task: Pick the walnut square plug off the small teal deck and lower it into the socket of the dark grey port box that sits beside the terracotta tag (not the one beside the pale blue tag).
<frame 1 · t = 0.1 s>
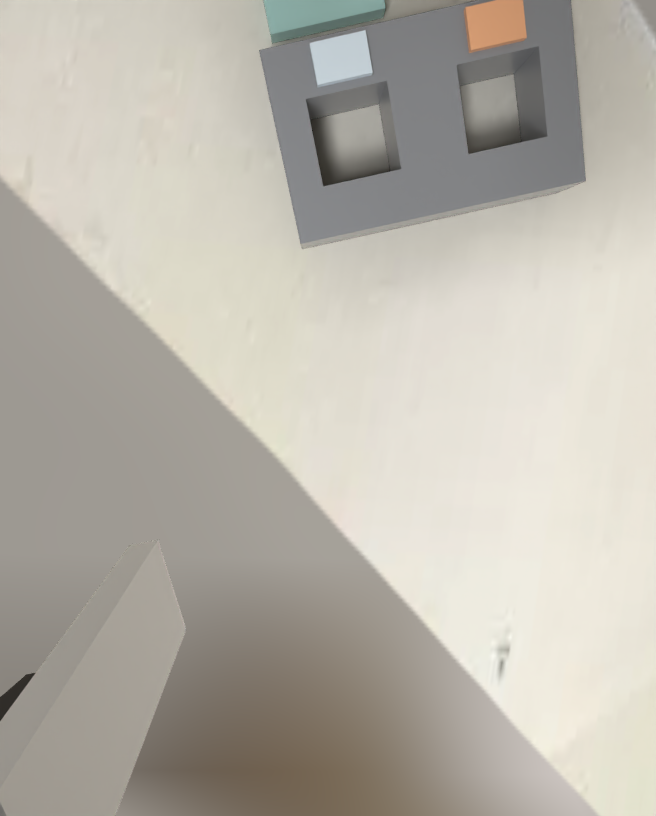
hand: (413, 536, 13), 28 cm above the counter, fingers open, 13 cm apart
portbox: (415, 137, 36), on the counter
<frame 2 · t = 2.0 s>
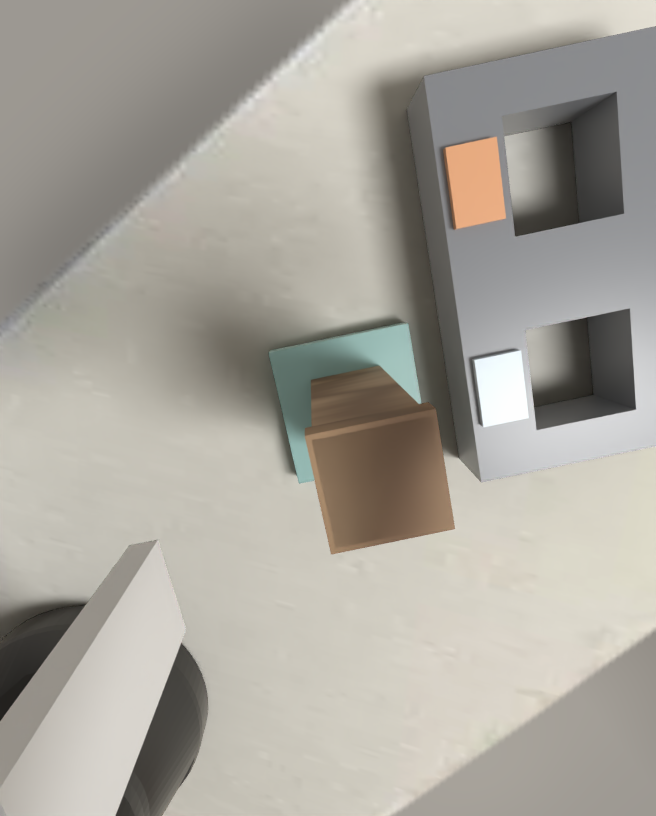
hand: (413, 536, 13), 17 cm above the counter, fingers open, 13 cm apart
deck: (350, 401, 29), on the counter
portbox: (536, 276, 28), on the counter
plug: (351, 406, 28), point 1 cm above the counter, touching deck
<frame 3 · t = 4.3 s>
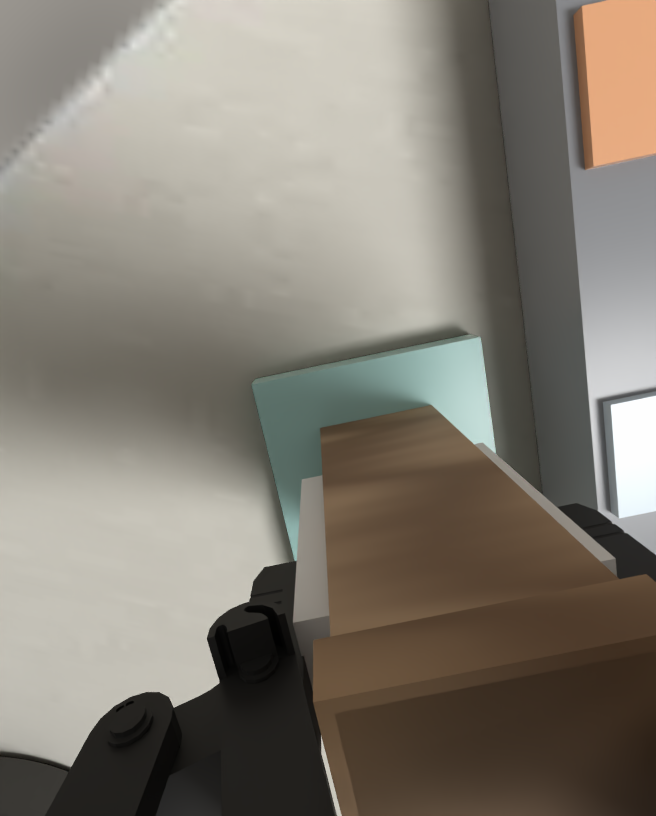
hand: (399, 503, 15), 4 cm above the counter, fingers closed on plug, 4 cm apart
deck: (381, 458, 19), on the counter
plug: (385, 469, 18), point 1 cm above the counter, touching deck, gripper
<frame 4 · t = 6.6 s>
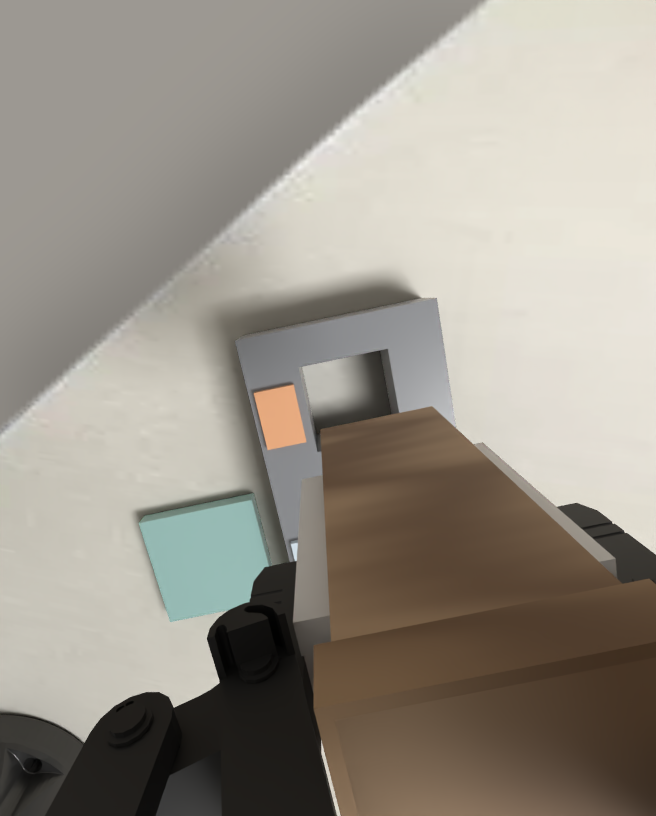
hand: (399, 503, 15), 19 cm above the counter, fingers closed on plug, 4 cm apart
deck: (213, 553, 36), on the counter
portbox: (360, 457, 34), on the counter
plug: (386, 470, 17), point 16 cm above the counter, touching gripper
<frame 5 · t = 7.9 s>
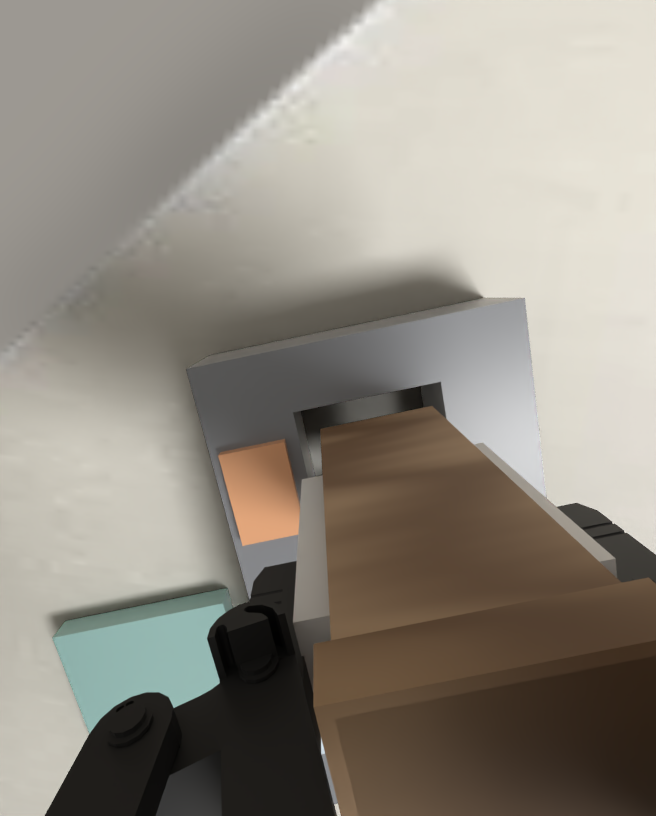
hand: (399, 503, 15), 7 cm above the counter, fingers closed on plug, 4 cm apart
deck: (168, 673, 24), on the counter
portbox: (387, 535, 23), on the counter
plug: (385, 470, 17), point 5 cm above the counter, touching gripper
when the fingers open (5 cm above the counter, at t = 8.9 s): plug drops 2 cm, resting in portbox.
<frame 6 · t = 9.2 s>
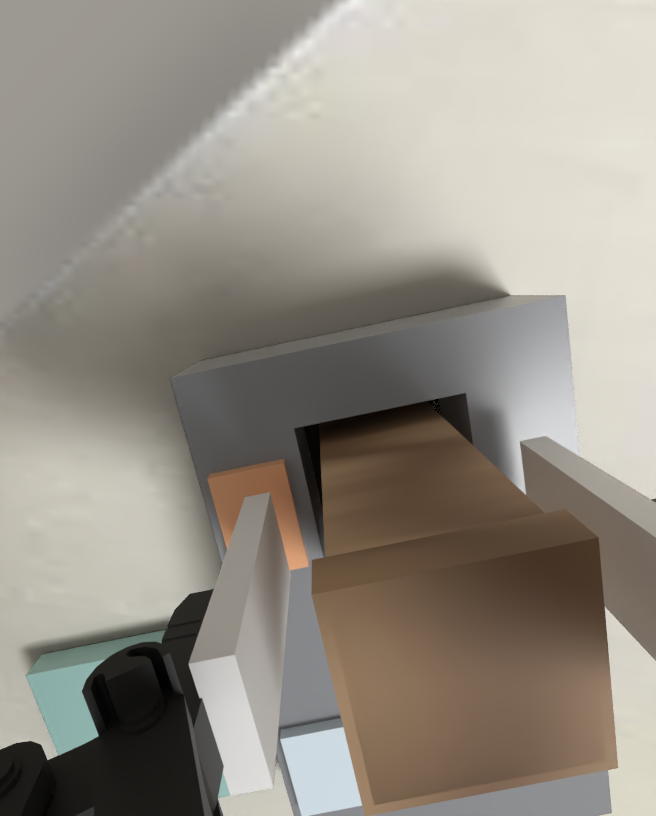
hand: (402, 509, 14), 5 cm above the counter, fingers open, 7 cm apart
deck: (157, 711, 22), on the counter
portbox: (399, 561, 21), on the counter
plug: (377, 452, 20), resting in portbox
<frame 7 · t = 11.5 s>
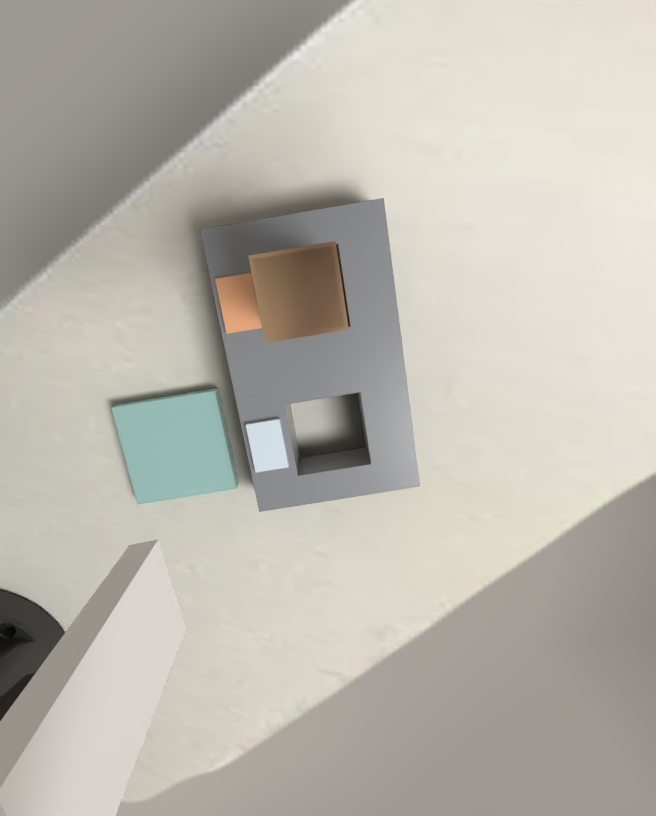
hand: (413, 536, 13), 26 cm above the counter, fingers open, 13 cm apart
deck: (179, 444, 39), on the counter
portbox: (317, 358, 37), on the counter
plug: (305, 293, 36), resting in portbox
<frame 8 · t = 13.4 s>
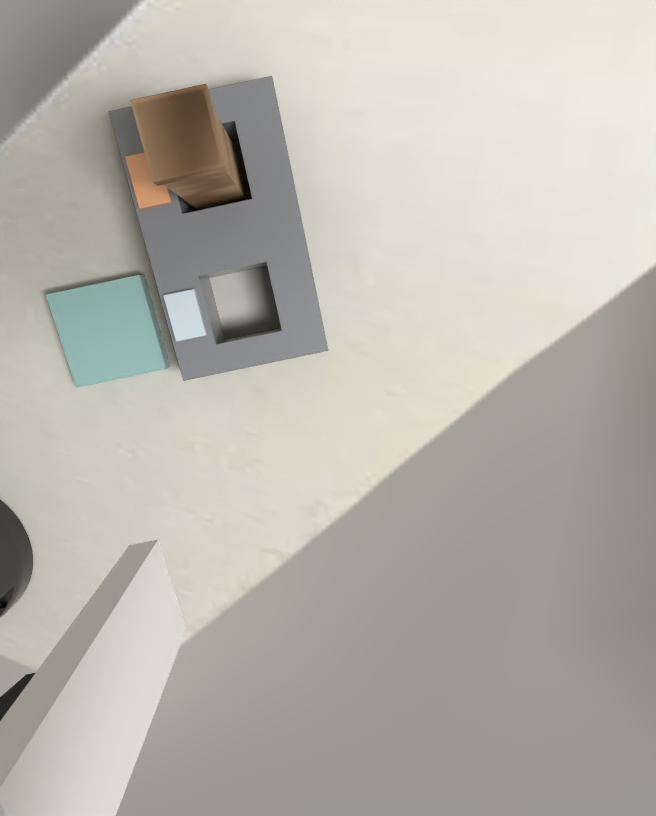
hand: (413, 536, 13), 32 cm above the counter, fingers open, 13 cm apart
deck: (112, 331, 42), on the counter
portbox: (233, 243, 41), on the counter
plug: (218, 181, 40), resting in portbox
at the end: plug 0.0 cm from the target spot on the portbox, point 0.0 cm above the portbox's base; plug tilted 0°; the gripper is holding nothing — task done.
